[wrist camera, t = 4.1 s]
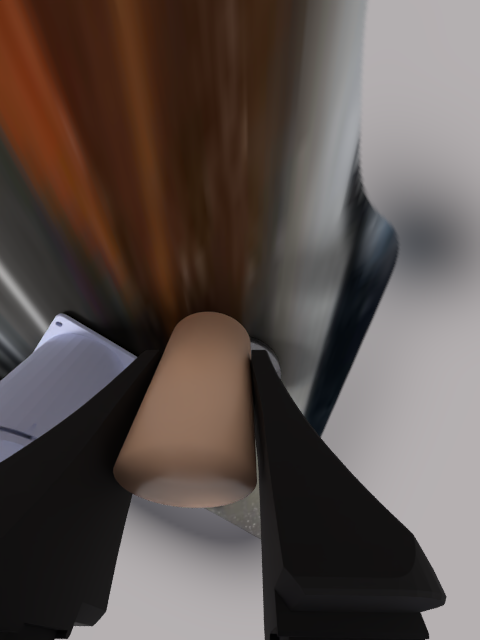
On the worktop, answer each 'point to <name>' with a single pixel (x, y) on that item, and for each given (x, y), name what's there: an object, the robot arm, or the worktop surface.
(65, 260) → the worktop surface
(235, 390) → the tan cylinder
